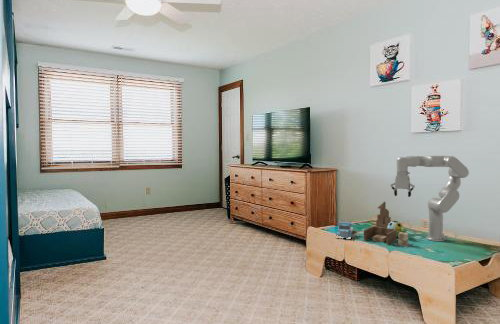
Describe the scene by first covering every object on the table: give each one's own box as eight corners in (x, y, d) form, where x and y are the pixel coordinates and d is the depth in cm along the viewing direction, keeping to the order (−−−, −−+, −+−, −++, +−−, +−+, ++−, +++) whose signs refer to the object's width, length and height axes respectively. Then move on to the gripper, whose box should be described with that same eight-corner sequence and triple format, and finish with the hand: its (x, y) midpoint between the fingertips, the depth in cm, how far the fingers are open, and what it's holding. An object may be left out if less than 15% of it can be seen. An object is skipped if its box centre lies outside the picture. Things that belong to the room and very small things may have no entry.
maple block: (407, 243, 262) (408, 233, 261) (405, 245, 258) (405, 234, 257) (400, 242, 265) (400, 232, 264) (398, 244, 261) (398, 233, 261)
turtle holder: (398, 240, 272) (398, 225, 271) (383, 234, 289) (383, 220, 289) (412, 239, 275) (412, 224, 274) (396, 233, 292) (397, 219, 292)
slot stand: (396, 240, 274) (396, 229, 273) (387, 245, 261) (388, 234, 260) (373, 235, 286) (373, 226, 285) (363, 240, 273) (363, 230, 273)
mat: (412, 244, 262) (412, 243, 262) (407, 247, 254) (407, 246, 254) (398, 241, 269) (398, 241, 269) (393, 244, 261) (393, 244, 261)
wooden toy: (395, 232, 297) (395, 202, 295) (391, 233, 292) (391, 203, 291) (378, 228, 308) (378, 200, 307) (374, 230, 304) (374, 200, 303)
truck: (335, 239, 279) (335, 220, 278) (338, 230, 307) (338, 212, 306) (351, 240, 275) (352, 221, 275) (353, 231, 303) (353, 213, 302)
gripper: (415, 173, 268) (416, 196, 269) (392, 172, 279) (392, 194, 280) (413, 174, 262) (413, 197, 263) (388, 173, 273) (389, 196, 274)
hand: (402, 196), depth 271 cm, fingers open, 9 cm apart
